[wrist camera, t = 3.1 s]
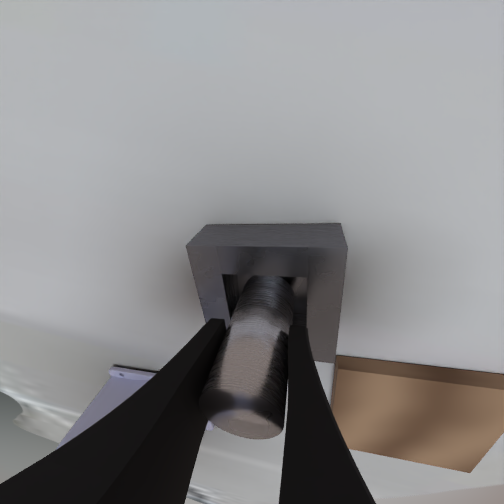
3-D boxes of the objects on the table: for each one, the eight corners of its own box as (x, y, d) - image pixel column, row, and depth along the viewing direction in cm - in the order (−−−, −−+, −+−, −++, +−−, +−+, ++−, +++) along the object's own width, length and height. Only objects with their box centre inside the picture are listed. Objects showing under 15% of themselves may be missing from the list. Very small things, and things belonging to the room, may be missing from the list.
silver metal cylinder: (245, 312, 14) (207, 429, 8) (240, 272, 12) (190, 382, 7) (294, 316, 13) (285, 446, 8) (294, 274, 12) (282, 397, 6)
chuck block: (225, 318, 16) (212, 348, 14) (206, 224, 13) (185, 245, 11) (330, 327, 15) (334, 363, 12) (340, 223, 11) (347, 247, 9)
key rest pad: (327, 431, 20) (328, 444, 19) (336, 355, 16) (337, 368, 15) (462, 456, 18) (469, 472, 17) (520, 376, 13) (535, 394, 12)
